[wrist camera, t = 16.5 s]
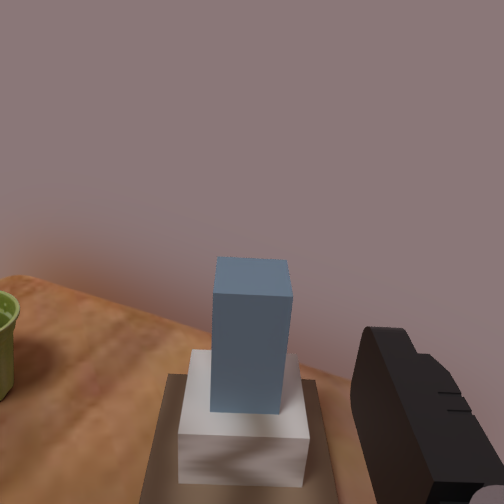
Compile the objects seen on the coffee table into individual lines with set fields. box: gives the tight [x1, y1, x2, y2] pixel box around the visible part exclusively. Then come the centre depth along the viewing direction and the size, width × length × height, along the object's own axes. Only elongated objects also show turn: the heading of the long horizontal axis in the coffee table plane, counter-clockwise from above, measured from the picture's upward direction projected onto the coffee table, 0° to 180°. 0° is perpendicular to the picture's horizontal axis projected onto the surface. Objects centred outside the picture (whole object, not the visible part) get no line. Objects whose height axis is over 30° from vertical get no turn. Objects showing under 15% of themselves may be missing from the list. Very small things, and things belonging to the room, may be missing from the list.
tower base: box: [139, 349, 339, 504], centre depth 37 cm, size 14×14×8 cm
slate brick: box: [210, 257, 293, 415], centre depth 33 cm, size 5×5×10 cm
